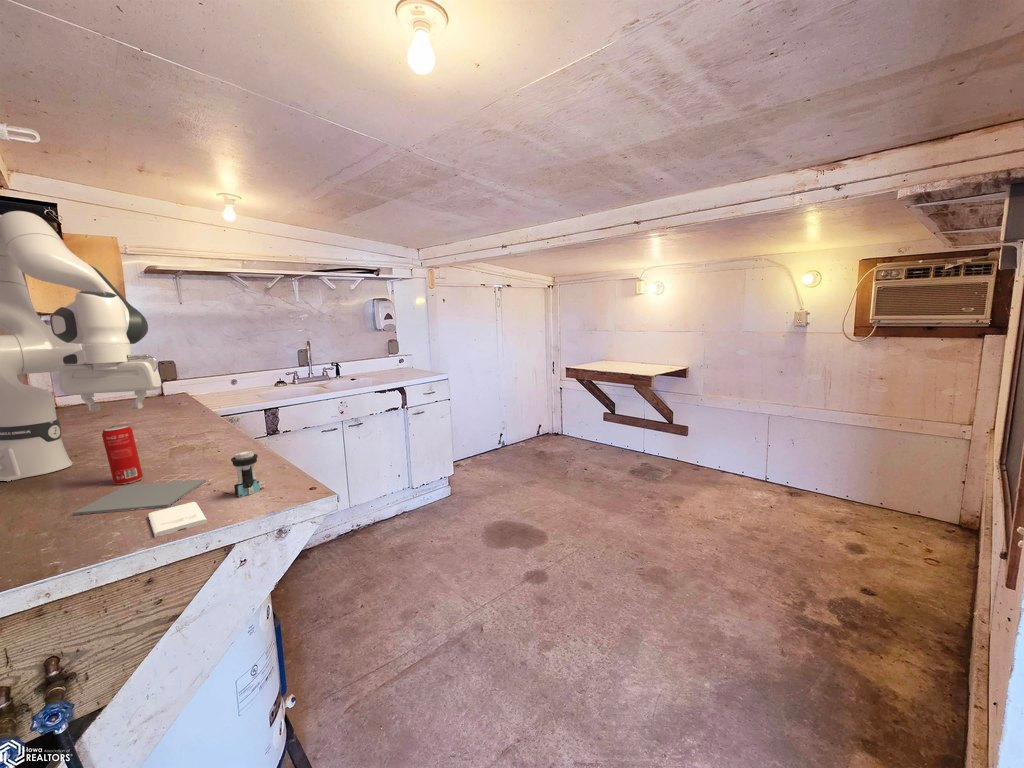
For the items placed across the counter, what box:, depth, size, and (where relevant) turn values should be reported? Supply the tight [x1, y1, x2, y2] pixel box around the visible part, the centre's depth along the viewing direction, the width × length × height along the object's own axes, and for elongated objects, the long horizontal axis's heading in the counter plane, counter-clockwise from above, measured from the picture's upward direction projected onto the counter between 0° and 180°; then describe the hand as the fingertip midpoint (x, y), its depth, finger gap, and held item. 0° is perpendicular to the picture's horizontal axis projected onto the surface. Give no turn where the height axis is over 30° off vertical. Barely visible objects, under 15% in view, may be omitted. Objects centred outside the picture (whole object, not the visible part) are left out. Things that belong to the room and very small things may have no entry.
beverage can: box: [101, 424, 144, 485], centre depth 108 cm, size 6×6×15 cm
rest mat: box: [72, 479, 207, 516], centre depth 98 cm, size 18×16×1 cm
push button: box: [230, 450, 266, 498], centre depth 99 cm, size 7×5×10 cm
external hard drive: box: [147, 501, 208, 538], centre depth 86 cm, size 2×8×12 cm
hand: (116, 409), depth 106 cm, fingers open, 8 cm apart
